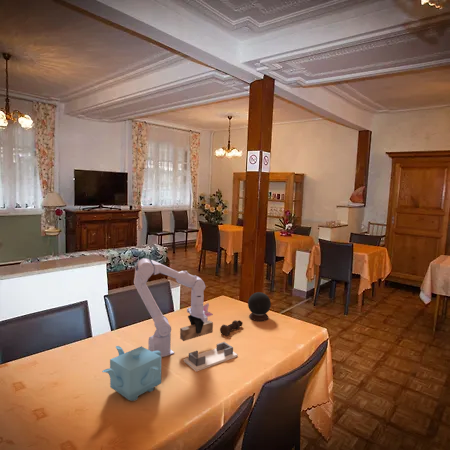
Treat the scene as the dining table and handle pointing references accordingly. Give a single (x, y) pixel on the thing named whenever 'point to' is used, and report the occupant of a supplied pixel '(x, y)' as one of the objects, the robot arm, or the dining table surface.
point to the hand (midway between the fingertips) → (196, 331)
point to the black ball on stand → (259, 306)
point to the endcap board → (210, 357)
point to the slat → (191, 333)
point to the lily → (206, 310)
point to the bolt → (230, 327)
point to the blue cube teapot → (135, 372)
